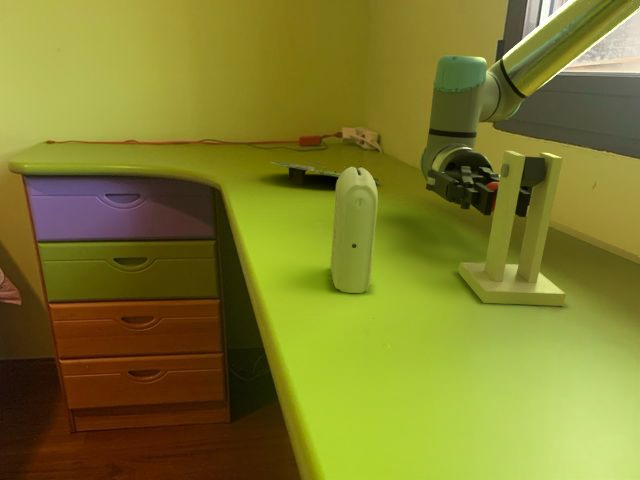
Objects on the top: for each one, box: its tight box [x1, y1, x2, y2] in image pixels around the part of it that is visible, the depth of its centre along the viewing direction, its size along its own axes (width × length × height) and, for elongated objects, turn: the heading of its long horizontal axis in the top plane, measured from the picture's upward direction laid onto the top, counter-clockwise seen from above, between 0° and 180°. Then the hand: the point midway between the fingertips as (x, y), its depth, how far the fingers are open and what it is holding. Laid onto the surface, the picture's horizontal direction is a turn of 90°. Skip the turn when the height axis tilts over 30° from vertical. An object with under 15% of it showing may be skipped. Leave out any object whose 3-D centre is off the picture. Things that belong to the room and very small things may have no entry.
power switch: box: [458, 150, 567, 307], centre depth 77 cm, size 12×9×15 cm
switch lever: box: [486, 155, 545, 213], centre depth 81 cm, size 15×4×4 cm, turn 4°
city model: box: [269, 160, 384, 185], centre depth 143 cm, size 25×24×6 cm
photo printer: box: [330, 166, 379, 294], centre depth 77 cm, size 10×4×12 cm, turn 2°
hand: (507, 204), depth 82 cm, fingers closed on switch lever, 4 cm apart
